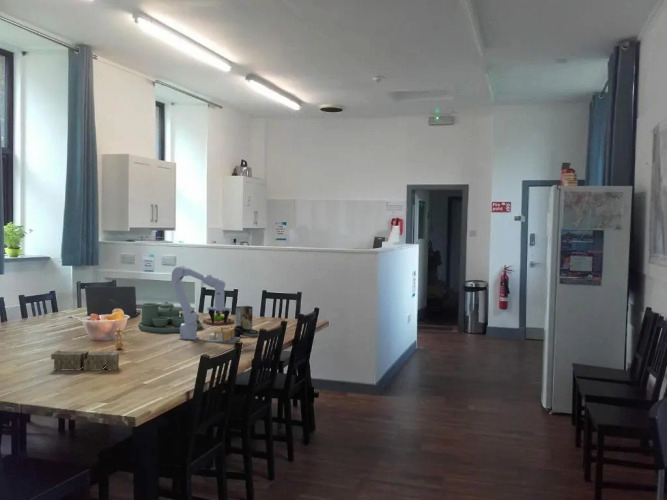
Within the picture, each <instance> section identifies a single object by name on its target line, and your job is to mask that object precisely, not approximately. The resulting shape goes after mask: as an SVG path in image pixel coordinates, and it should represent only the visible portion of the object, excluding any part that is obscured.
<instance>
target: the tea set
mask: <svg viewBox="0 0 667 500" xmlns="http://www.w3.org/2000/svg"><path fill="white" fill-rule="evenodd" d="M140 305H141V321H139V322H138V323H137V324H138V325H137V326H138V329H140V330H141V331H143V332H149V333H153V332H155V333H157V334H158V333H159V334H173V333H180V326H181V324H182V323H185V322H184V315H183V311H181V312H180V310H179V309H178V308H177V307H176V306H175V305H174V303H172V302H171V303H170V302H168V301H165V302H162V303H157V302H143V303H140ZM197 315H198V318H197V320H196V322H197V330H199V329H201V328H202V322H201V320H199V317H200V315H199V314H197Z"/></svg>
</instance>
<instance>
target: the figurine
mask: <svg viewBox="0 0 667 500" xmlns="http://www.w3.org/2000/svg"><path fill="white" fill-rule="evenodd" d="M114 333H116V334H115V337H116V343H115V348H116V349H117V350H121V349H123V347H124V343H123V342H122V334H121V333H123V334H124V335H125V336H126V337H127V334H126V332H125V331H123V330H121V329H120V327H118V328H117V329H116V330H113V331H112V332H111V334H110V337H112V335H113V334H114Z"/></svg>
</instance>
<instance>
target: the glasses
mask: <svg viewBox="0 0 667 500" xmlns="http://www.w3.org/2000/svg"><path fill="white" fill-rule="evenodd" d="M234 328H235V327H224V326H223V327H220V330H219V331H218V330H214V332H213V333H214V340H216V333H217V334H218V333H224V340H229V339H230V333H231V338H232V337H234ZM224 329H227V330H226V331H223V330H224Z"/></svg>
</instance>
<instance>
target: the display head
mask: <svg viewBox="0 0 667 500" xmlns="http://www.w3.org/2000/svg"><path fill="white" fill-rule="evenodd" d="M226 330H227V329H223V331H226ZM208 335H209V336H208V338H206V339H204V341H203V342H205V343H206V342H207V343H222V344H223V343H224V344H226V343H227V344H235V343H236V342H238V341H239V340H240V339H241V337H232V338H231V333H230V339H229V340H224V333H216V340H214V332H212V333H210V334H208ZM237 340H238V341H237ZM234 342H235V343H234Z"/></svg>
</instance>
